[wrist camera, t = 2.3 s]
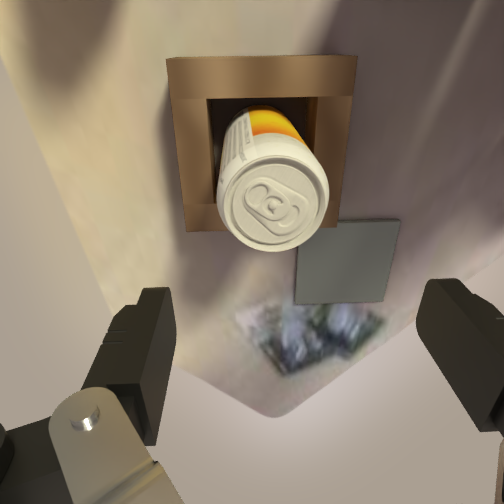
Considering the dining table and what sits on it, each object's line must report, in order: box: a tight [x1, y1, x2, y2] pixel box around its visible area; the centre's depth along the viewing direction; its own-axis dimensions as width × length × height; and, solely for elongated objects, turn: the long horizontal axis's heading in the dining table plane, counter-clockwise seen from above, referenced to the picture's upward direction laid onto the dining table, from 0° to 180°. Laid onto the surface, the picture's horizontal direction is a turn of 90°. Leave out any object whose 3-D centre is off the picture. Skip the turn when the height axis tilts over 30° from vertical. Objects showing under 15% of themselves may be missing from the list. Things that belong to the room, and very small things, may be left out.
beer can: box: [217, 105, 329, 252], centre depth 24 cm, size 6×6×15 cm
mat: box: [295, 219, 401, 304], centre depth 37 cm, size 10×10×1 cm
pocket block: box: [166, 55, 358, 232], centre depth 29 cm, size 13×13×4 cm
